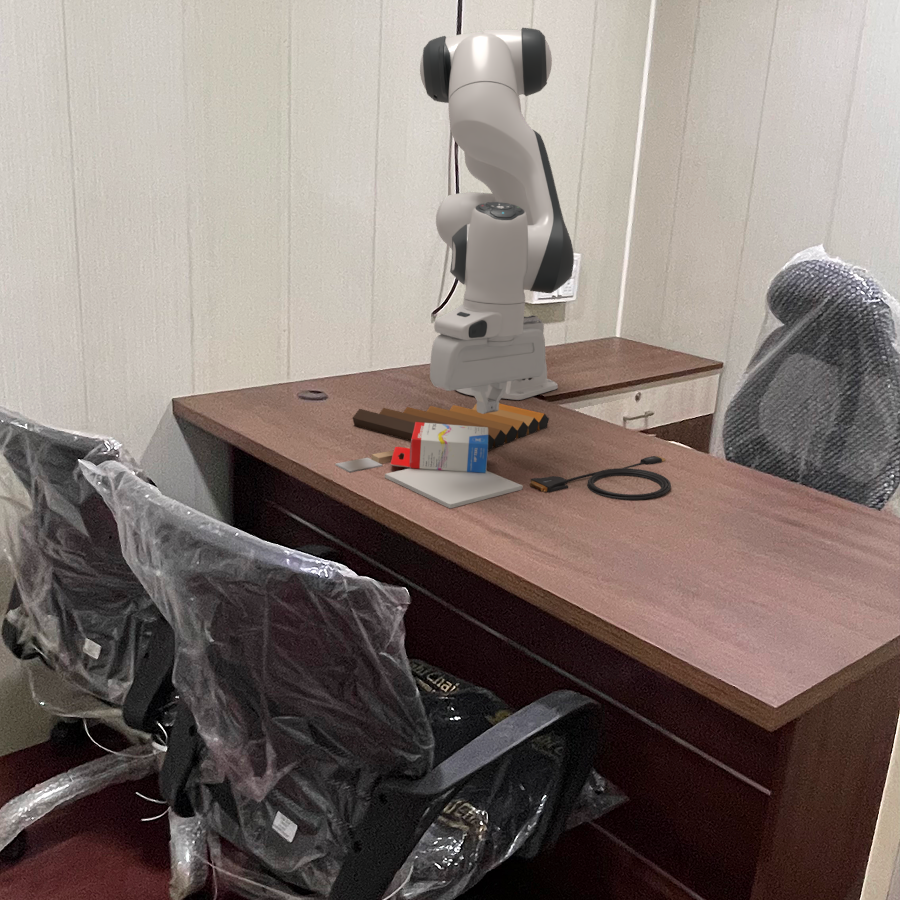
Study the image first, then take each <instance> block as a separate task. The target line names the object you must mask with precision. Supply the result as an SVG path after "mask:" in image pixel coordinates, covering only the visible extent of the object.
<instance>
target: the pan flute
mask: <svg viewBox="0 0 900 900" xmlns="http://www.w3.org/2000/svg"><path fill="white" fill-rule="evenodd" d="M352 421H353V424H354V427H358V428H362V429H365V430H368V431H373V432H377V433H380V434H384V435H387V436H391V437H395V438H398V439H402V440H405V441H410V442H411V438H412V435H413V431H414V426H415V422H422V423H435V424H448V425H461V426H476V427H488V452H489V451H491V450H492V449H494V448H498V447H501V446H503V445H505V444H509V443H511V442H513V441H516V439H517V440H518V439H522V438H525V437H526V436H527V435H531V434H534V433H537V432H538V431H541V430H544V429H546V428H548V425H549V421H550V418H549V417H548V416H547V415H546V414H545V413H543V412H538V411H535V410H534V411H533V410H529V409H526V408H521V407H516V406H512V405H507V404H503V403H500V402H499V410H498V411H496V412H490V413H485V414H481V413H479V412H477V403H475V404H474V406H473V407H472V408H468V407H464V406H459V405H455V404H452V406H451V407H450V408H449V409H445V408H441V407H437V406H433V405H430V406H429V407H428V408H427V410H426V411H425V410H422V409H418V408H414V407H411V406H407V407H406V408H405V409H404V410H403V411H398V410H394V409H390V408H386V407H383V408H382V409H381V410H380V412H379V413H378V412H373V411H370V410H366V409H363V408H359V409H358V410H357V411H356V413H355V414H354V415H353V417H352Z"/></svg>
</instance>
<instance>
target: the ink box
mask: <svg viewBox="0 0 900 900" xmlns="http://www.w3.org/2000/svg"><path fill="white" fill-rule="evenodd" d="M409 447H410V448H408V447H402V446H395V447H394V452H393V456H392V460H391V462H390V466H392V467H400V468H402V467H403V468H408V469H409V468H417V469H432V470H448V471H462V472H477V473H486V471H487V468H488V465H487V464H488V456H489V454H488V453H489V451H488V427H476V426H461V425H448V424H435V423H422V422H415V426H414V431H413V435H412V438H411V441H410V446H409ZM400 454H404V458H403V460H402V459H399V457H398V456H399V455H400Z"/></svg>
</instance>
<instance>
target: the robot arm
mask: <svg viewBox="0 0 900 900" xmlns="http://www.w3.org/2000/svg"><path fill="white" fill-rule="evenodd" d="M552 62H553V57H552V50H551V48H550V45H549V44H548V42H547V40H546V36H545V34H544V33H543V32H541V30H540V29H536V28H530V27H522V28H521V29H514V28H513V29H512V28H491V29H483V30H482V31H473V32H466V33H461V34H456V35H451V36H448V37H447V36H446V35H442V36H439V37H435V38H433V39H431V40H429V41H428V42H427V44H426V45H425V46H424V47H423V51H422V55H421V58H420V64H419V73H420V74H419V75H420V79H421V82H422V86H423V87H424V89H425V92H426V94H427V96H428V97H429V98H431V100H433V101H435V102H438V103H444V104H448V118H449V119H448V120H449V121H448V122H449V127H450V132H451V135H452V138H453V140H454V141H455V143H456V144H457V146H458V147H459V148H460V149H461V150H462V151H463V152H464V154H463V155H464V163H465V166H466V168H467V171H468V172H469V173H470V175H472V176H473V178H475V179H477V180H478V181H480V182H481V183H482V184H484V185H485V186H486V187H487V188H488V189H489V191H490V192H491V193H487V192H476V191H475V192H473V191H467V192H461V193H460V192H458V193H455V194H454V193H453V194H449V195H447V196H445V198H443V200H442V201H441V202H440V204H439V206H438V208H437V211H436V213H435V214H436V216H435V224H436V225H435V226H436V230H437V232H438V233H437V234H438V235H439V237H440V238H441V240H442V241H443V242H444V243H445V244H446V245H447V246H448V247H449V249H450V250H451V251H452V252H451V262H450V264H451V265H450V270H449V272H450V273H451V274H452V276H454V278H455V279H456V280H457V281H459V283H460V284H462V285H464V286H465V290H464V293H463V294H464V295H463V304H461V305H458V307H456V308H454V309H452V310H450V311H448V312H446V313H444V314H442V315H441V316H439V317H437V318H436V319H435V321H434V326H433V328H434V332H435V333H438V335H437V336H436V337H435V338H434V340H433V344H432V346H431V347H432V348H431V354H430V364H429V365H430V366H429V379H430V382H431V383H432V385H433V387H435V388H437V389H439V390H443V391H446V392H450V391H451V392H452V391H457V392H458V393H461V394H464V395H469V396H473V397H474V398H475V400H476V404H477V412H479V413H481V414H485V413H490V412H496V411H498V410H499V403H500V401H501V400H502V399H506V400H507V399H508V400H516V401H519V400H520V401H521V400H524V399H525V400H526V399H528V398H531V397H535V396H537V395H540V394H544V393H547V392H550V391H555V390H557V389H558V383H557V382H556V381H554V380H551V379H550V378H548V367H547V366H548V365H547V361H546V341H545V334H544V330H545V326H544V322H543V321H542V320H541V319H540V318H539V317H538V316H537V315H534V314H532V315H529V316H525V310H526V308H525V307H526V295H525V291H529V292H535V293H536V292H537V293H543V294H544V293H545V294H552V293H554V292H555V291H557V290H558V289H560V288H561V287H562V286H564V285H565V284H566V283H567V282H568V281H569V279H571V277H572V276H573V271H574V264H575V262H574V261H575V254H574V248H573V243H572V239H571V236H570V234H569V231H568V228H567V226H566V222H565V219H564V216H563V212H562V208H561V204H560V199H559V197H558V192H557V188H556V187H557V186H556V183H555V179H554V175H553V171H552V166H551V163H550V160H549V159H550V158H549V156H548V152H547V149H546V145H545V142H544V140H543V137H542V136H541V134H540V133H539V132H537V131H536V130H534V129H532V127H531V126H530V125H529V123H528V122H527V121H526V119H525V118H524V116H523V114H522V106H521V100H520V99H521V97H520V96H522V95H524V96H525V97H527V96H528V97H529V96H531V95H534V94H536V93H539V92H541V91H542V90H543V89H544V88H545V87H546V85H547V84H548V79H549V77H550V75H551V71H552V65H553V63H552Z"/></svg>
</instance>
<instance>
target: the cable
mask: <svg viewBox="0 0 900 900" xmlns="http://www.w3.org/2000/svg"><path fill="white" fill-rule="evenodd" d="M664 462H666V458H664V457H662V456H659V455H653V456H646V457H644V458H642V459H640V461H639V463H635V464H631V465H627V466H625V467H621V468H619V467H617V468H607V469H602V470H599V471H595V472H591V473H587V474H583V475H579V476H575V477H571V478H568V479H567V478H564V477H563V476H562V477H561V476H558V475H553V476H544V477H532V478H530V483H529V487H531V488H536V489H538V490H540V492H541V493H542V492H543V493H546V494H547V493H548V494H549V493H552V492H557V491H562V490H565V489H569V485H568V483H570V482H573V481H576V480H577V481H578V480H580V479H584V478H588V477H589V478H588V480H587V485H586V486H587V488H588V489H589V490H590V492H591V493H594V494H596V495H598V496H600V497H605V498H607V499H613V500H619V501H641V500H643V501H644V500H649V499H656V498H658V497H661V496H663V495H665V494H667V493H668V492H669V491H670V490H671V488H672V484H671V481H670V480H669V479H668V478H667V477H666V476H663V475H662V474H659V473H657V472H654V471H649V470H646V469H639V468H634V467H638V466H642V465H645V466H646V465H655V464H661V463H664ZM625 476H626V477H635V478H640V479H641V478H642V479H646V480H649V481H652V482H654V483H656V484H658V485H659V486H660V489H658V490H655V491H651V492H648V493H639V494H638V493H637V494H635V493H634V494H632V493H631V494H630V493H629V494H628V493H619V492H612V491H608V490H605V489H603V488H600V487H598V486H596V484H595V483H596V482H597V481H599V480H601V479H604V478H609V477H625Z"/></svg>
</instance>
